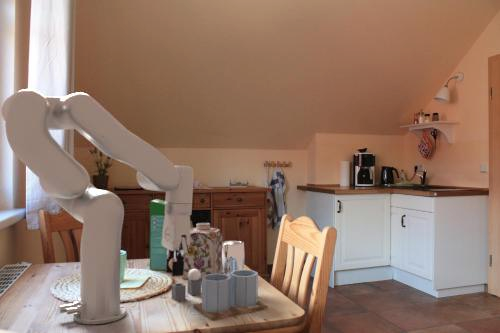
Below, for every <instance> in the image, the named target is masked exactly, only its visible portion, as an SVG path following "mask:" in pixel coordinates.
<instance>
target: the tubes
mask: <svg viewBox="0 0 500 333" xmlns="http://www.w3.org/2000/svg"><path fill="white" fill-rule="evenodd" d="M258 286H259V273H258V272H257V271H255V270H251V269H243V270H236V271H232V272H231V273H230V276H229V275H227V274H223V273H221V274H208V275H205V276H203V277H202V280H201V303H202V309H203V310H204V311H206V312H213V313H219V312H224V311H228V310H229V309H230V308H231V304H232V305H234V306H238V307H249V306H254V305H256V304H257V302H258V301H259V297H258V296H259V292H258V291H259V289H258V288H259V287H258Z"/></svg>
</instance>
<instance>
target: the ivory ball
mask: <svg viewBox="0 0 500 333" xmlns="http://www.w3.org/2000/svg"><path fill="white" fill-rule="evenodd" d="M188 277H189V279H190V280H191V281H197V280H198V279H199V278H200V271H199V270H198V269H192V270H190V271H189V273H188Z"/></svg>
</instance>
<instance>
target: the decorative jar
mask: <svg viewBox="0 0 500 333" xmlns="http://www.w3.org/2000/svg"><path fill="white" fill-rule="evenodd" d="M195 225H196V227H190V245H189V249H188V250H187V251H188V254H187V255H186V256H185V261H184V270H183V276H181V278H182V279H184V280H188V279H189V277H188V273H189V271H190V270H192V269H198V270H199V271H200V278H199V280H201V281H202V277H203V276H205V275H208V274H222V273H223V270H222V263H221V251H222V242H224V240H223V235H224V234H223V233H222V231H221V229H219V228H216V227H211V223H210V222H198V223H196V224H195Z"/></svg>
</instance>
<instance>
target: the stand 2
mask: <svg viewBox="0 0 500 333" xmlns="http://www.w3.org/2000/svg"><path fill="white" fill-rule="evenodd" d="M186 293H187V294H189V295H190V296H196V295H202V280H199V279H198V280H197V281H191V280H190V279H187V292H186Z"/></svg>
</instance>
